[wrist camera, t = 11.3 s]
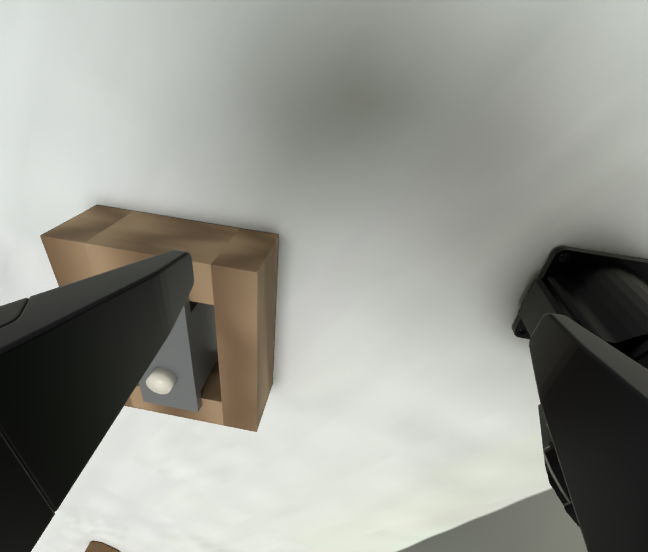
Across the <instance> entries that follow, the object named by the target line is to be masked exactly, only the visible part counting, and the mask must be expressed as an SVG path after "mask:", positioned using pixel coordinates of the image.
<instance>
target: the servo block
mask: <svg viewBox="0 0 648 552" xmlns="http://www.w3.org/2000/svg"><path fill="white" fill-rule="evenodd" d="M217 360H218V349H217V337H216V324H215V312H214V305H210V304H204V303H198V302H193V301H189V296H188V298H187V300H186V302H185V304H184V306H183V308H182V311H181V313H180V315H179V317H178V319H177V321H176V323H175V325H174V327H173V329H172V331H171V333H170V334H169V336H168V338H167V339H166V341H165V343H164V344H163V346H162V347H161V349H160V350H159V352H158V353H157V355H156V357H155V358H154V360H153V361H152V363H151V364H150V366H149V368H148V369H147V371H146V372H145V374H144V375H143V377H142V378H141V380H140V382H139V386H140V390H141V394H142V397H143V401H144V402H149V403H154V404H159V405H164V406H169V407H174V408H179V409H184V410H189V411H194V412H199V410H200V408H201V406H202V401H201V392H200V391H201V389H202V388H203V386H204V384H205V382H206V380H207V378H208V376H209V374H210V373H211V371H212V369H213V367H214V365H215V363H216V361H217Z"/></svg>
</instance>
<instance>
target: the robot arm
mask: <svg viewBox="0 0 648 552" xmlns="http://www.w3.org/2000/svg"><path fill="white" fill-rule="evenodd" d="M562 254H565V256H564V257H563V258H559V256H560V255H562ZM193 285H194V272H193V263H192V256H191V254H190V253H189V252H186V251H180V250H171V251H168V252H165V253H162V254H159V255H156V256H153V257H150V258H147V259H143V260H140V261H137V262H134V263H131V264H128V265H125V266H122V267H119V268H116V269H113V270H110V271H107V272H104V273H101V274H98V275H95V276H92V277H88V278H85V279H82V280H79V281H76V282H73V283H70V284H67V285H64V286H61V287H58V288H55V289H52V290H49V291H46V292H43V293H40V294H37V295H34V296H31V297H30V298H29V299H28V298H24V299H21V300H18V301H15V302H12V303H9V304H6V305H3V306H0V552H31V551H32V549H33V547H34V546H35V544H36V543H37V541H38V540H39V538H40V537H41V535H42V533H43V532H44V530H45V529H46V527H47V526H48V524H49V523H50V521H51V519H52V518H53V516H54V515H55V511H57V509H58V508H59V506H60V505H61V503H62V502H63V500H64V499H65V497H66V495H67V494H68V492H69V491H70V489H71V488H72V486H73V485H74V483H75V481H76V480H77V478H78V477H79V475H80V474H81V472H82V470H83V469H84V467H85V466H86V464H87V463H88V461H89V460H90V458H91V456H92V455H93V453H94V452H95V450H96V449H97V447H98V446H99V444H100V442H101V441H102V439H103V438H104V436H105V435H106V433H107V431H108V430H109V428H110V427H111V425H112V424H113V422H114V421H115V419H116V417H117V416H118V414H119V413H120V411H121V410H122V408H123V407H124V405H125V403H126V402H127V400H128V399H129V397H130V396H131V394H132V392H133V391H134V389H135V388H136V386H137V385H138V383H139V382H140V380H141V378H142V377H143V375H144V374H145V372H146V371H147V369H148V368H149V366H150V364H151V363H152V361H153V360H154V358H155V357H156V355H157V353H158V352H159V350H160V349H161V347H162V346H163V344H164V343H165V341H166V339H167V338H168V336H169V334H170V333H171V331H172V329H173V327H174V325H175V323H176V321H177V319H178V317H179V315H180V313H181V311H182V308H183V306H184V304H185V302H186V300H187V298H188V296H189V294H190V292H191V290H192V288H193ZM518 313H519V315H518V317H517V319H516V321H515V323H514V325H513V327H512V330H513V332H514V334H515V335H516V336H517V337H520V338H526V339H530V341H529V348H530V353H531V359H532V364H533V369H534V374H535V379H536V384H537V389H538V394H539V398H540V402H541V404H539V405H538V408H539V417H540V425H541V434H542V443H543V451H544V460H545V466H546V471H547V474H548V479H549V483H550V484H551V486H552V488H553V489H554V490H555V492H556V494H557V496H558V497H559V499H560V500H561V502H562V503H563V505H564V507H565V510H566V512H567V513H568V514H569V515H570V517H571V518H572V519H573V520H574V521H575V523H577V525H578V526H579V527H580V529H581V532H582V534H583V538H584V541H585V544H586V547H587V550H588V552H648V260H646V259H640V258H634V257H627V256H621V255H614V254H608V253H602V252H595V251H589V250H583V249H576V248H570V247H559V248H556V249H555V250H554V251H553V252H552V253H551V255H550V257H549V259H548V261H547V262H546V264H545V266H544V268H543V270H542V272H541V274H540V276H539V278H538V279H536V280H535V281H534V283H533V285H532V286H531V288H530V290H529V292H528V294H527V296H526V298H525V300H524V302H523V304H522V305H521V307H520V309H519V311H518ZM520 329H523V330H521V331H519V330H520Z"/></svg>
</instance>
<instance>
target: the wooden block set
mask: <svg viewBox="0 0 648 552" xmlns="http://www.w3.org/2000/svg"><path fill="white" fill-rule="evenodd" d="M85 552H119V550H117V549H115V548H113V547H111V546H109V545H107V544H104V543H102V542H96V541H92V542H90V544H89V546H88V547H87V549H86V551H85Z"/></svg>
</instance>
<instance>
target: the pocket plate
mask: <svg viewBox="0 0 648 552" xmlns="http://www.w3.org/2000/svg"><path fill="white" fill-rule="evenodd" d="M40 236H41V239H42V242H43V245H44V247H45V250H46V253H47V255H48V258H49V261H50V263H51V266H52V269H53V271H54V274H55V277H56V279H57V282H58V285H59V287H61V286H64V285H67V284H70V283H73V282H76V281H79V280H82V279H85V278H88V277H92V276H95V275H98V274H101V273H104V272H107V271H110V270H113V269H116V268H119V267H122V266H125V265H128V264H131V263H134V262H137V261H140V260H143V259H147V258H150V257H153V256H156V255H159V254H162V253H165V252H168V251H171V250H180V251H186V252H189V253H190V254H191V256H192V263H193V272H194V285H193V288H192V290H191V292H190V294H189V301H193V302H198V303H204V304H210V305H214V312H215V324H216V337H217V349H218V360H217V361H216V363H215V365H214V367H213V369H212V371H211V373H210V374H209V376H208V378H207V380H206V382H205V384H204V386H203V388H202V389H201V391H200V392H201V401H202V406H201V408H200V410H199V412H194V411H189V410H184V409H179V408H174V407H169V406H164V405H159V404H154V403H149V402H144V401H143V397H142V394H141V390H140V386H139V383H138V385H137V386H136V388H135V389H134V391H133V392H132V394H131V396H130V397H129V399H128V400H127V402H126V403H125V405H124V406H128V407H133V408H139V409H144V410H149V411H154V412H159V413H164V414H169V415H174V416H179V417H184V418H189V419H194V420H199V421H204V422H209V423H214V424H219V425H224V426H229V427H234V428H239V429H244V430H249V431H255V432H257V429H258V426H259V423H260V420H261V417H262V414H263V411H264V408H265V405H266V402H267V399H268V396H269V393H270V390H271V387H272V384H273V363H274V339H275V315H276V291H277V267H278V243H279V235H278V234H272V233H266V232H259V231H253V230H247V229H241V228H235V227H229V226H223V225H217V224H210V223H204V222H198V221H192V220H186V219H180V218H174V217H168V216H161V215H155V214H149V213H143V212H137V211H131V210H125V209H119V208H112V207H106V206H100V205H96V206H94V207H92V208H90V209H88V210H86V211H85V212H83V213H81V214H79V215H77V216H75V217H74V218H72V219H70V220H68V221H66V222H64V223H62V224H61V225H59V226H57V227H55V228H53V229H51V230H50V231H48V232H46V233H44V234H42V235H40Z"/></svg>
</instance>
